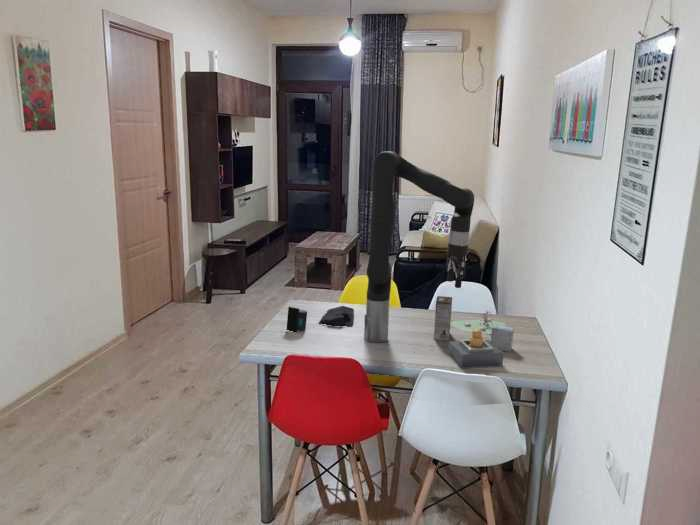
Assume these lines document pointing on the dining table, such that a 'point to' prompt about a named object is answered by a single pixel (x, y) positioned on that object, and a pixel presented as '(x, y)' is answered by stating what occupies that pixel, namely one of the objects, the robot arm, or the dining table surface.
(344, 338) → the dining table surface
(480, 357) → the block
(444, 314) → the coffee box
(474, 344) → the tan stepped cylinder
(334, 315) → the dark slate chunk
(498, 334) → the medicine box
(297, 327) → the speaker
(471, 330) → the plant
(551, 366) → the dining table surface
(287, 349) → the dining table surface
